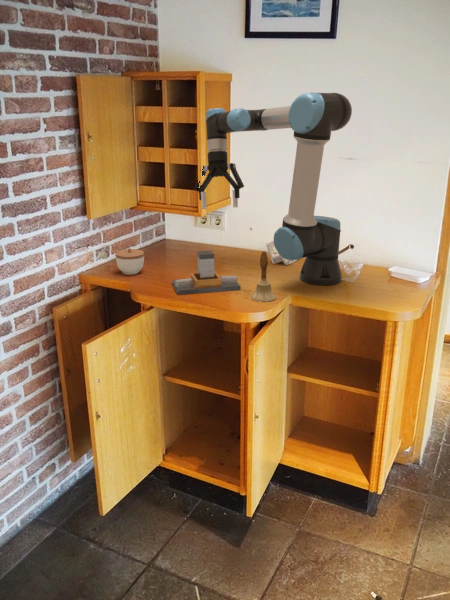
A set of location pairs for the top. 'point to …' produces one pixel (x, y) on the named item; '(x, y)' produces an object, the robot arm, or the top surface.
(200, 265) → the block
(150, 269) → the top surface
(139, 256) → the lidded jar
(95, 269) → the top surface
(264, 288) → the hand bell
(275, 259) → the mounting bracket
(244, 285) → the top surface
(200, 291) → the base
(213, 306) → the top surface
